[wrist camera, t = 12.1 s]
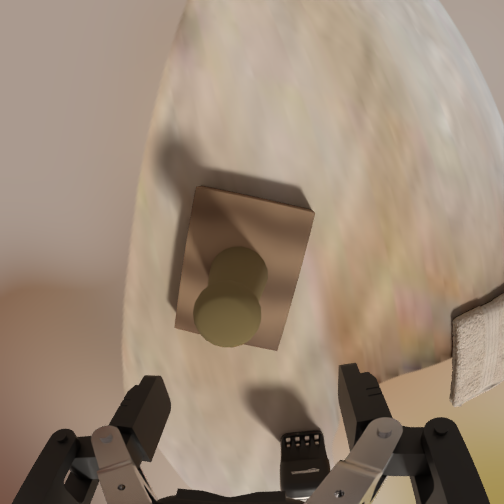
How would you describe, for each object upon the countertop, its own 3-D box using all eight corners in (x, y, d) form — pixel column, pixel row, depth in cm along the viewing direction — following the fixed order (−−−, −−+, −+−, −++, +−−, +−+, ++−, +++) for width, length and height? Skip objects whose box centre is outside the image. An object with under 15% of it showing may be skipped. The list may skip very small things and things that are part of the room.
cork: (223, 236, 32) (199, 271, 21) (277, 261, 32) (281, 307, 21) (201, 287, 33) (172, 339, 23) (253, 310, 33) (245, 370, 23)
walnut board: (201, 185, 33) (195, 187, 30) (311, 209, 33) (315, 213, 30) (180, 318, 37) (174, 327, 35) (276, 339, 37) (277, 350, 35)
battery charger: (324, 425, 41) (334, 484, 30) (324, 440, 42) (332, 497, 31) (278, 430, 41) (278, 490, 30) (279, 445, 42) (280, 502, 31)
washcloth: (447, 403, 40) (454, 414, 37) (447, 315, 36) (458, 325, 33) (500, 374, 38) (509, 383, 35) (507, 285, 34) (519, 293, 31)
